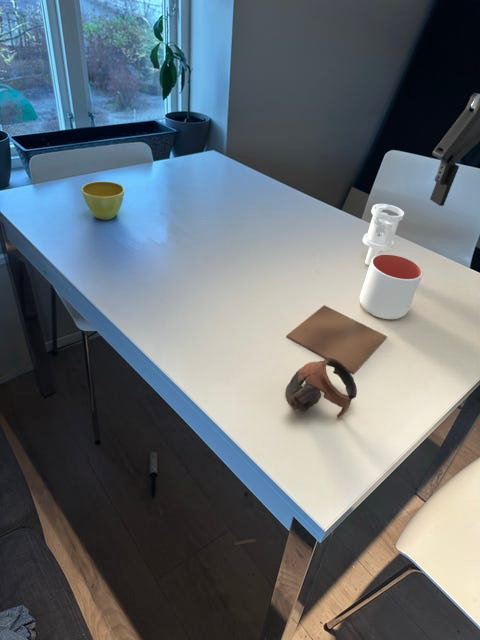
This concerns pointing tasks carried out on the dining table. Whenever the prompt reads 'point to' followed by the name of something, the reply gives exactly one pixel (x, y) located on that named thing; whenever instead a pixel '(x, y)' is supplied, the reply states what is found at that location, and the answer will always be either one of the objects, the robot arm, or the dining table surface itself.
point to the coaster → (337, 338)
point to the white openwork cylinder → (381, 230)
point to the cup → (390, 286)
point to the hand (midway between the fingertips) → (469, 202)
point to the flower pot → (103, 198)
